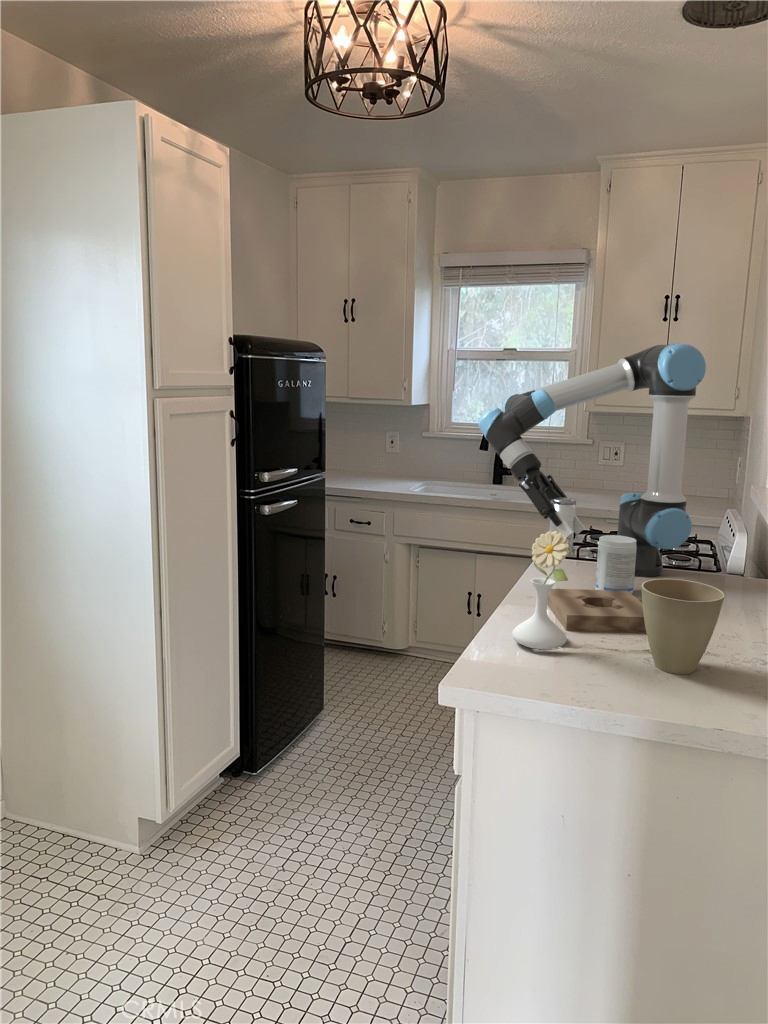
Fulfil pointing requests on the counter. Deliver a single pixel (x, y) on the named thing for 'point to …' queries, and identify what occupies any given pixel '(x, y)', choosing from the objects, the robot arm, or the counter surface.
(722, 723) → the counter surface
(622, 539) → the supplement tub
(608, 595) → the walnut socket block
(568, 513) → the silver capped jar
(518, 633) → the flower in vase
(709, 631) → the plant pot
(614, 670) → the counter surface
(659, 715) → the counter surface
